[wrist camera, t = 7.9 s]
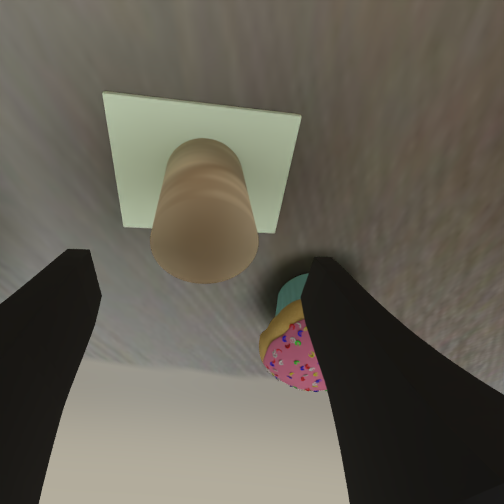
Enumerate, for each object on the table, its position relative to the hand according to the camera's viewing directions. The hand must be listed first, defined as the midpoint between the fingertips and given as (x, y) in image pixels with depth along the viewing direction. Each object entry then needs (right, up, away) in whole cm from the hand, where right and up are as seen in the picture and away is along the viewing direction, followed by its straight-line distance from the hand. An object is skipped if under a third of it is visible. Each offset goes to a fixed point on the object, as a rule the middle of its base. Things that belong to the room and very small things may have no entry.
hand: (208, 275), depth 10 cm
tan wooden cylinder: (-1, +5, +6) cm, 8 cm away
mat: (-1, +5, +6) cm, 8 cm away
